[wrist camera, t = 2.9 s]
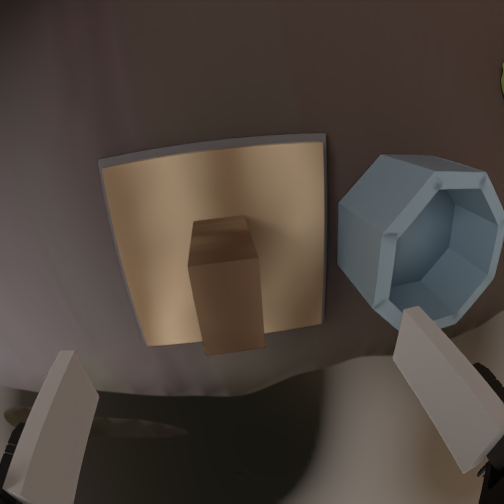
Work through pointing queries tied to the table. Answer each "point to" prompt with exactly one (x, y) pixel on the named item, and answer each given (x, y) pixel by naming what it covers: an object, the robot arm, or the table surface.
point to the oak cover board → (220, 193)
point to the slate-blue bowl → (420, 236)
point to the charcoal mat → (208, 146)
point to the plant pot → (502, 79)
